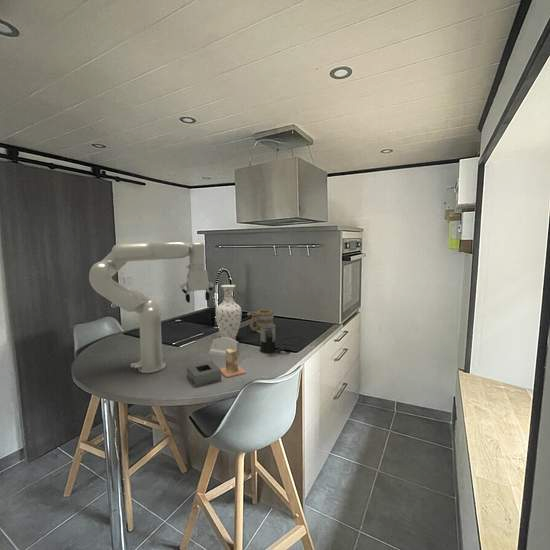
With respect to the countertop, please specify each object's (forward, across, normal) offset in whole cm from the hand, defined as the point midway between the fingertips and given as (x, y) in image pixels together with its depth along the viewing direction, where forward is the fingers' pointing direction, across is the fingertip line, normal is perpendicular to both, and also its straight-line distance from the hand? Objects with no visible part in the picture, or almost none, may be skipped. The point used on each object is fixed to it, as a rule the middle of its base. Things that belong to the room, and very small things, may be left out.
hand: (197, 301), depth 152 cm
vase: (+32, +27, +24) cm, 49 cm away
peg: (+32, +10, -19) cm, 38 cm away
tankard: (+33, +53, +30) cm, 69 cm away
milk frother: (+33, +42, -6) cm, 54 cm away
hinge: (+33, +16, +5) cm, 37 cm away
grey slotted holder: (+32, -4, -19) cm, 38 cm away
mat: (+32, +10, -19) cm, 39 cm away
